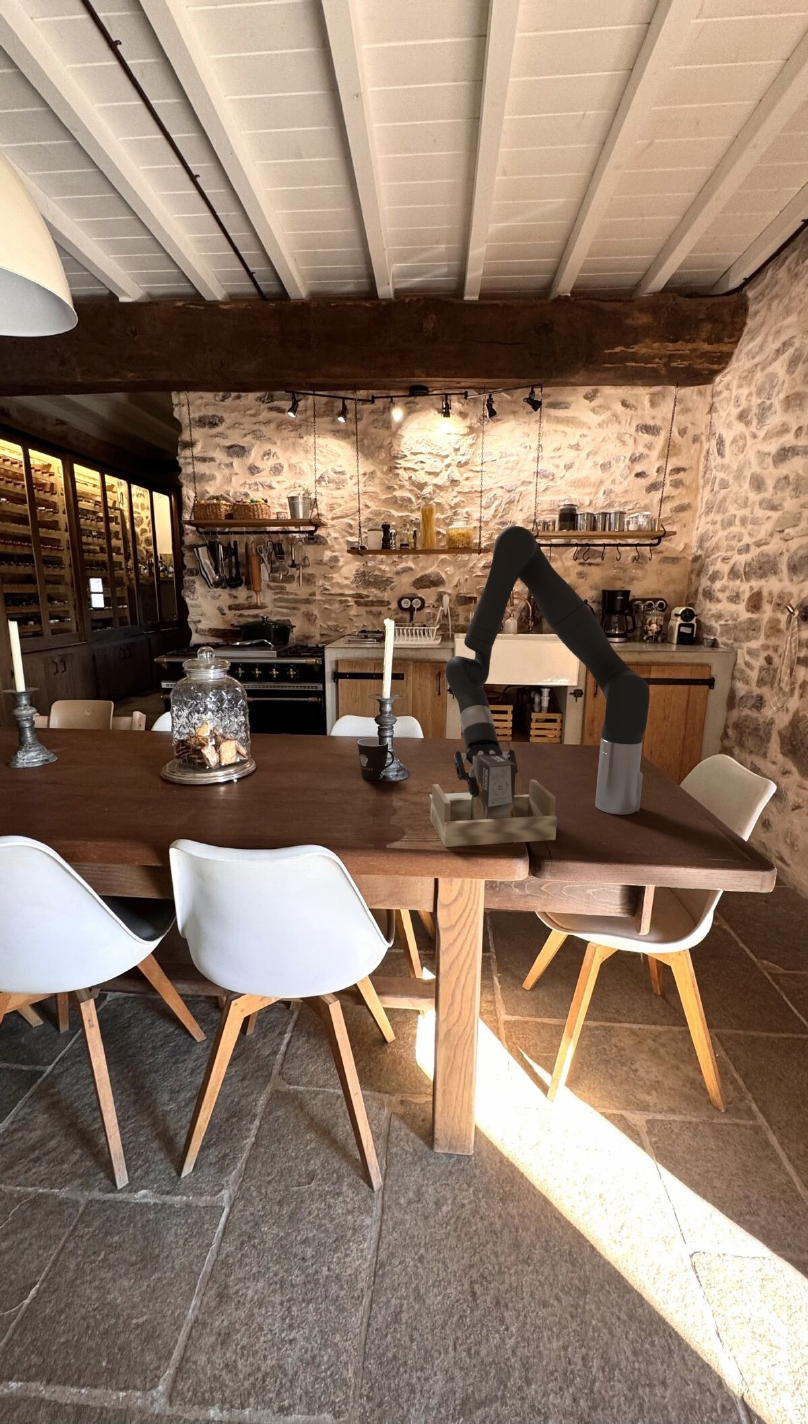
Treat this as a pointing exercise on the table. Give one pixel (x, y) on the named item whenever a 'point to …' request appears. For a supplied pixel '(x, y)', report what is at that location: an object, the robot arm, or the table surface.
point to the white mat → (456, 795)
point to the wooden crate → (529, 826)
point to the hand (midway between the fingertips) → (492, 794)
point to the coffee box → (493, 787)
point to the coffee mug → (373, 758)
